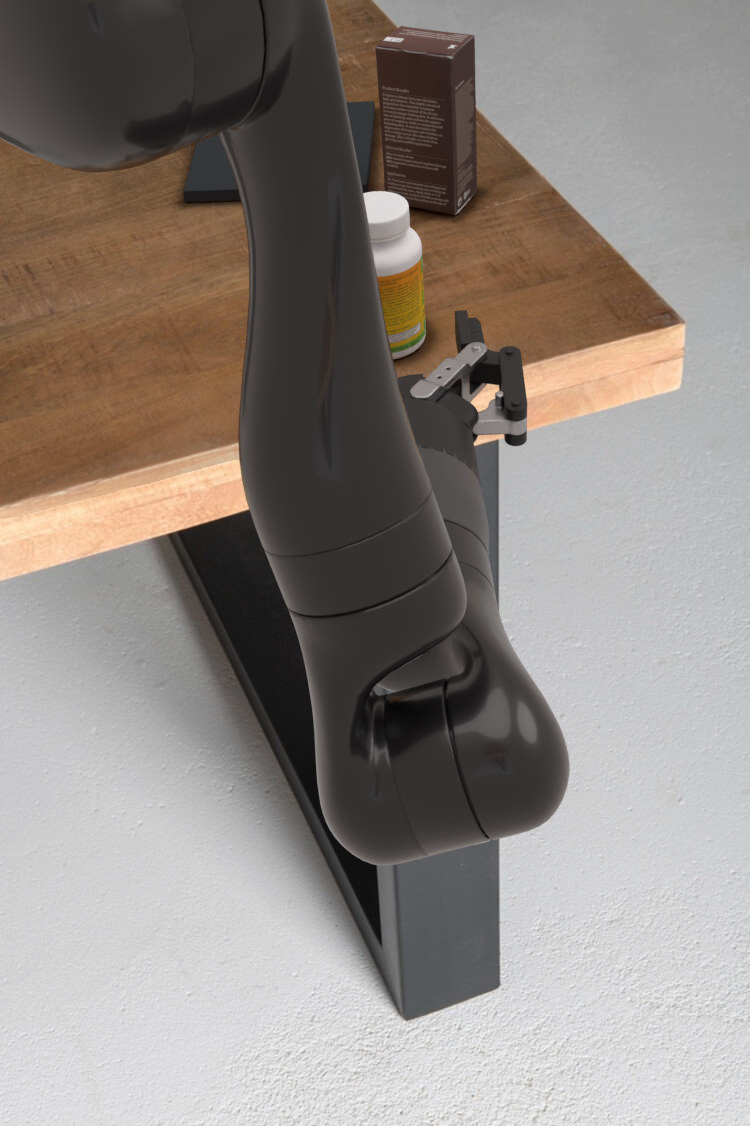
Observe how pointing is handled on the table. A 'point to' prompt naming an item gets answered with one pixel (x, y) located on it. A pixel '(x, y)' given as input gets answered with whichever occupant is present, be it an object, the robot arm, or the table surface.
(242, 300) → the table surface
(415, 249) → the supplement bottle
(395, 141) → the box
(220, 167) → the charcoal mat
